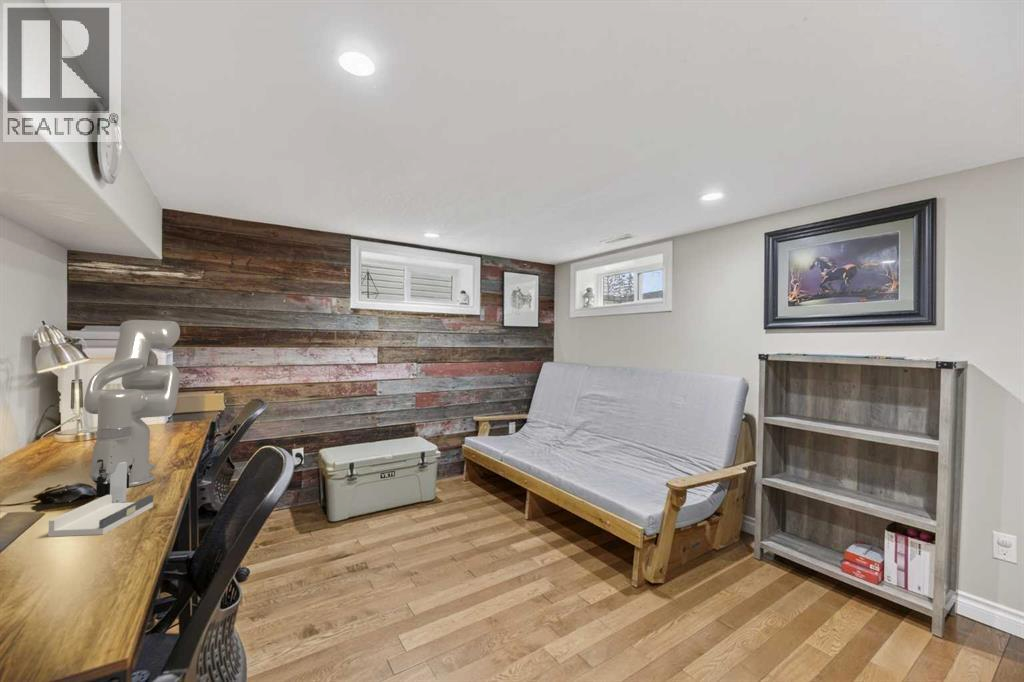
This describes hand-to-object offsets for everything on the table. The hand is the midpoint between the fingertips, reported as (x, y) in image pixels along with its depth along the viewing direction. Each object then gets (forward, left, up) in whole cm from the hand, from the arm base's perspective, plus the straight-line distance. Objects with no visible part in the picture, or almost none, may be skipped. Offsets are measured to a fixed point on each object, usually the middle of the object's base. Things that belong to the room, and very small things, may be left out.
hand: (113, 491), depth 126 cm
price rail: (+14, +14, -2) cm, 20 cm away
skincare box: (0, 0, -3) cm, 3 cm away
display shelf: (+14, +8, -3) cm, 16 cm away
